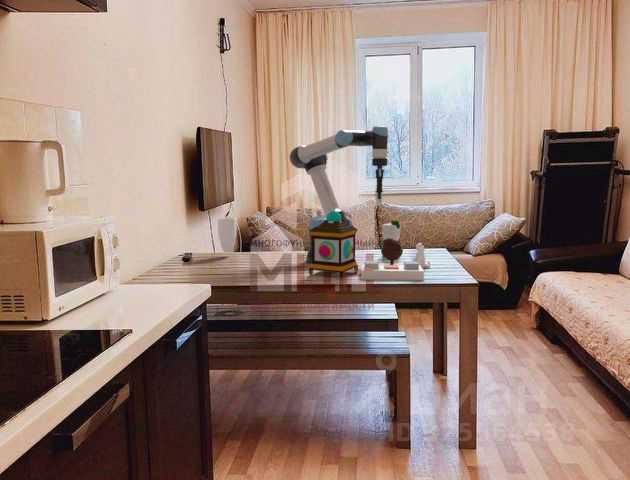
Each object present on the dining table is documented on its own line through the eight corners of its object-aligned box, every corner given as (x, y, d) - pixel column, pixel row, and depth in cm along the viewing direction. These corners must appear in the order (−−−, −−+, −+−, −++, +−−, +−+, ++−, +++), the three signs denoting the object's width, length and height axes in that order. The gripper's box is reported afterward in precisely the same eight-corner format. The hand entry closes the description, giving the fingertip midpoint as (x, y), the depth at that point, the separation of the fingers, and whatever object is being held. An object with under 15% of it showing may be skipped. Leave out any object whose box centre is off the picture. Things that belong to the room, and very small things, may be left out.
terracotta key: (385, 277, 257) (385, 267, 256) (384, 274, 263) (384, 264, 262) (398, 277, 257) (398, 267, 256) (397, 274, 262) (397, 264, 262)
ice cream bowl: (389, 271, 271) (389, 240, 269) (376, 267, 281) (376, 237, 279) (407, 269, 276) (407, 239, 274) (393, 265, 286) (394, 236, 284)
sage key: (365, 273, 257) (365, 263, 257) (364, 270, 263) (364, 261, 263) (378, 273, 257) (378, 263, 256) (377, 270, 263) (378, 261, 262)
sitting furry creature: (429, 268, 278) (430, 244, 276) (411, 268, 280) (412, 244, 278) (429, 265, 287) (430, 241, 285) (412, 264, 289) (413, 241, 287)
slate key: (405, 273, 256) (405, 263, 255) (404, 271, 262) (404, 261, 261) (418, 273, 256) (418, 263, 255) (417, 271, 262) (417, 261, 261)
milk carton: (394, 258, 306) (395, 221, 303) (379, 257, 311) (380, 220, 308) (402, 256, 313) (402, 220, 310) (387, 254, 318) (388, 219, 315)
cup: (241, 256, 316) (240, 217, 313) (228, 258, 307) (227, 219, 304) (227, 254, 322) (226, 216, 319) (214, 257, 313) (213, 218, 310)
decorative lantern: (343, 279, 253) (343, 212, 249) (304, 275, 262) (304, 210, 258) (361, 272, 270) (362, 209, 266) (325, 268, 280) (325, 207, 276)
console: (361, 279, 254) (361, 269, 253) (360, 273, 267) (360, 263, 267) (423, 279, 252) (423, 269, 251) (419, 273, 266) (420, 264, 265)
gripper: (388, 157, 275) (387, 206, 278) (386, 157, 288) (385, 204, 291) (372, 157, 275) (371, 206, 279) (371, 157, 288) (371, 204, 292)
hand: (379, 205), depth 285 cm, fingers closed
